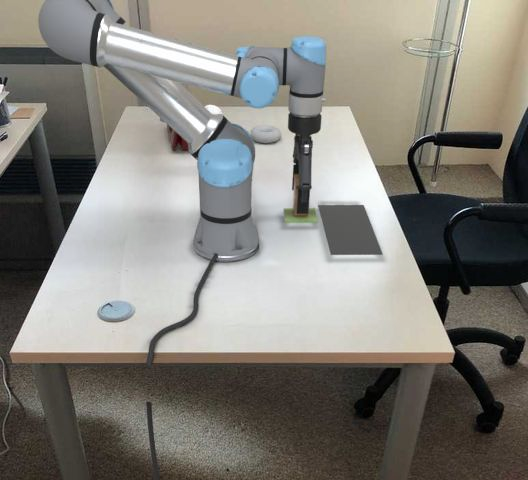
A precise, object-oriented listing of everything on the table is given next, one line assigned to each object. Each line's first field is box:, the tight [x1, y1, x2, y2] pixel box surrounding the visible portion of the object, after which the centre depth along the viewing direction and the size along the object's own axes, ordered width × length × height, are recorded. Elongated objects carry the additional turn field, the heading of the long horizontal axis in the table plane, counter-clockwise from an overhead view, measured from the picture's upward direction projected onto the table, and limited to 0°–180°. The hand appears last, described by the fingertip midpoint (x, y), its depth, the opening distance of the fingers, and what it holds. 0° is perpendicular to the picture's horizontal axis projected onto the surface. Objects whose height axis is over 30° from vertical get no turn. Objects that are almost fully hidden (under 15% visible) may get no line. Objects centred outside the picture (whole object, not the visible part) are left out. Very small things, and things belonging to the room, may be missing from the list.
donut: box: [249, 124, 282, 144], centre depth 208 cm, size 10×3×10 cm
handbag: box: [166, 82, 192, 151], centre depth 202 cm, size 28×11×17 cm, turn 11°
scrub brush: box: [282, 174, 319, 224], centre depth 159 cm, size 6×8×12 cm
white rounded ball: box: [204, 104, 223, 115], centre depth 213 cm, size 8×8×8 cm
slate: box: [317, 204, 384, 256], centre depth 158 cm, size 26×12×2 cm, turn 3°
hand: (299, 201), depth 159 cm, fingers open, 12 cm apart
